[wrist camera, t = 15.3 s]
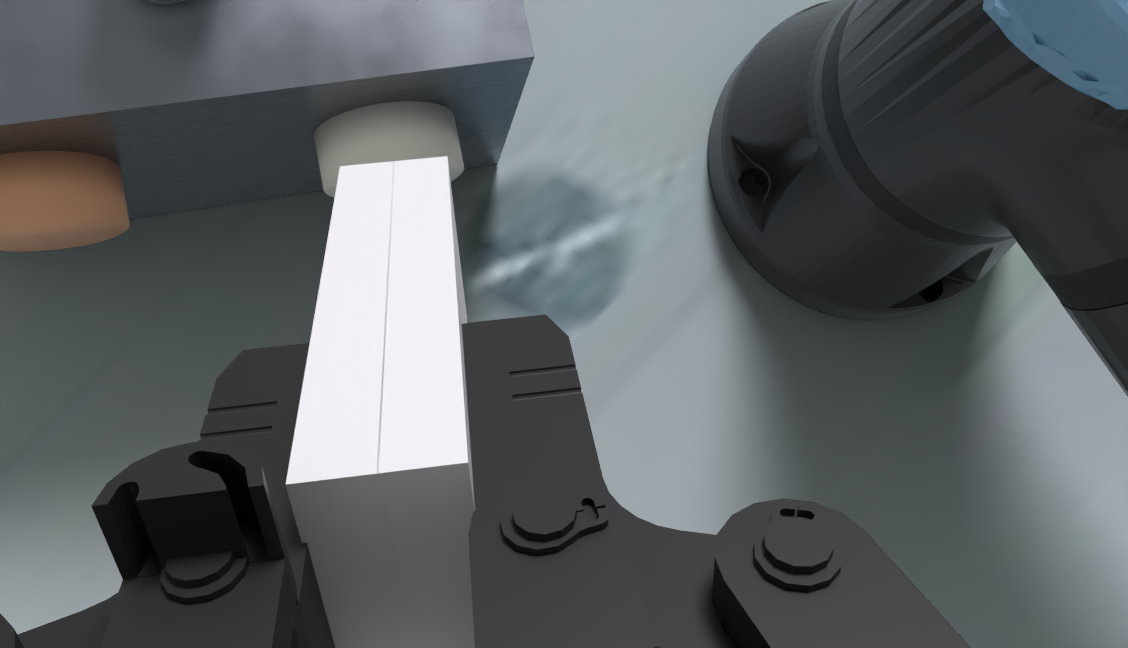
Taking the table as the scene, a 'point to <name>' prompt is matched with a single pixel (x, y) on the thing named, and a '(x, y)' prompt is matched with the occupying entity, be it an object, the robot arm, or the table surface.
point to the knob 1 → (59, 200)
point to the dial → (166, 1)
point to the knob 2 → (387, 138)
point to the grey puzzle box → (246, 85)
